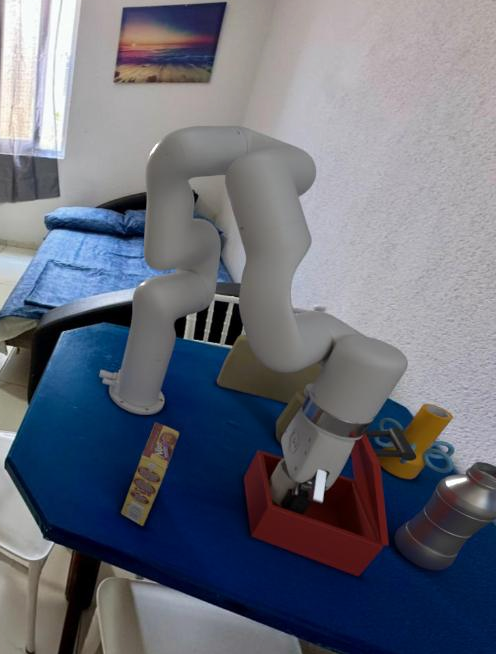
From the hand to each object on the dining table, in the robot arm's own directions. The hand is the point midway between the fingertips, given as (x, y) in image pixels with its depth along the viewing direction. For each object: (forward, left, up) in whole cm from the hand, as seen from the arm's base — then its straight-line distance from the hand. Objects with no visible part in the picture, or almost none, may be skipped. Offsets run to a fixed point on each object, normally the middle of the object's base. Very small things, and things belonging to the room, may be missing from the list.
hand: (288, 492), depth 69 cm
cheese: (+3, +37, -6) cm, 38 cm away
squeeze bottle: (+6, +21, -6) cm, 23 cm away
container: (0, 0, -1) cm, 1 cm away
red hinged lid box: (+3, 0, -6) cm, 7 cm away
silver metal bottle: (+20, +2, -6) cm, 21 cm away
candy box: (-22, -8, -6) cm, 24 cm away
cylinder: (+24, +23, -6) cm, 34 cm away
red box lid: (+7, 0, +9) cm, 11 cm away
